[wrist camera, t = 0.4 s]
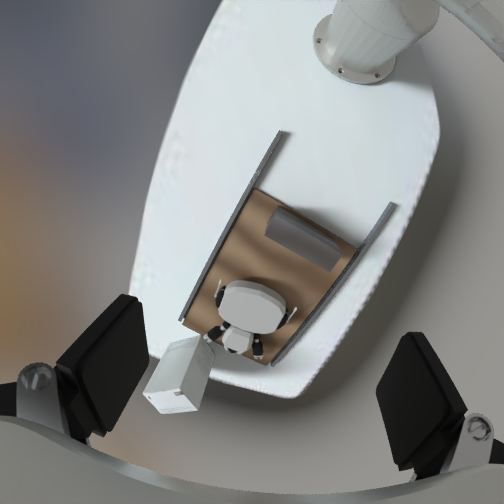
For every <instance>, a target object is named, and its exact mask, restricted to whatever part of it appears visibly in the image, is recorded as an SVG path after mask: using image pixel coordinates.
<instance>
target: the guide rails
mask: <svg viewBox="0 0 504 504" xmlns="http://www.w3.org/2000/svg"><path fill="white" fill-rule="evenodd" d="M282 134H283V132H282V131H280V130H279V132H278V133H277V135H276V137H275V138H274V140H273V142H272V144H271V145H270V147H269V149H268V151H267V152H266V154H265V156H264V158H263V159H262V161H261V163H260V165H259V166H258V168H257V170H256V172H255V174H254V175H253V177H252V179H251V181H250V183H249V184H248V186H247V188H246V190H245V192H244V193H243V195H242V197H241V199H240V201H239V203H238V204H237V206H236V208H235V210H234V212H233V214H232V216H231V217H230V219H229V221H228V223H227V225H226V227H225V229H224V231H223V232H222V234H221V236H220V238H219V240H218V242H217V244H216V246H215V248H214V250H213V252H212V253H211V255H210V257H209V259H208V261H207V263H206V265H205V267H204V269H203V271H202V273H201V275H200V277H199V279H198V281H197V283H196V285H195V287H194V289H193V291H192V293H191V295H190V297H189V299H188V301H187V303H186V305H185V307H184V309H183V311H182V313H181V315H180V317H179V319H178V321H180V322H181V321H182V319H183V317H184V315H185V313H186V311H187V309H188V307H189V305H190V303H191V301H192V299H193V297H194V295H195V293H196V291H197V289H198V287H199V285H200V284H201V282H202V280H203V278H204V276H205V274H206V272H207V270H208V268H209V266H210V264H211V262H212V260H213V259H214V257H215V255H216V253H217V251H218V249H219V247H220V245H221V243H222V242H223V240H224V238H225V236H226V234H227V232H228V230H229V229H230V227H231V225H232V223H233V221H234V219H235V217H236V216H237V214H238V212H239V210H240V208H241V206H242V205H243V203H244V201H245V199H246V197H247V196H248V194H249V192H250V190H251V188H252V187H253V185H254V183H255V181H256V179H257V178H258V176H259V174H260V172H261V171H262V169H263V167H264V165H265V164H266V162H267V160H268V158H269V156H270V155H271V153H272V151H273V150H274V148H275V146H276V144H277V143H278V141H279V139H280V137H281V136H282ZM394 207H395V205H394V204H393V203H391V202H390V203H389V204H388V206H387V207H386V209H385V211H384V212H383V214H382V215H381V217H380V218H379V220H378V221H377V223H376V224H375V226H374V228H373V229H372V231H371V232H370V234H369V235H368V237H367V238H366V239H365V241H364V242H363V244H362V245H361V247H360V248H359V250H358V251H357V253H356V254H355V255H354V257H353V258H352V260H351V261H350V262H349V264H348V265H347V267H346V268H345V269H344V271H343V272H342V274H341V275H340V276H339V278H338V279H337V280H336V282H335V283H334V284H333V286H332V287H331V288H330V290H329V291H328V292H327V294H326V295H325V296H324V298H323V299H322V300H321V301H320V303H319V304H318V305H317V307H316V308H315V309H314V310H313V312H312V313H311V314H310V315H309V317H308V318H307V319H306V320H305V322H304V323H303V324H302V325H301V327H300V328H299V329H298V330H297V331H296V333H295V334H294V335H293V336H292V338H291V339H290V340H289V341H288V342H287V343H286V345H285V346H284V347H283V348H282V349H281V350H280V352H279V353H278V354H277V355H276V356H275V357H274V359H273V360H272V361H271V366H272V367H274V365H275V364H276V363H277V362H278V361H279V360H280V359H281V358H282V357H283V355H284V354H285V353H286V352H287V351H288V350H289V349H290V347H291V346H292V345H293V344H294V343H295V342H296V340H297V339H298V338H299V337H300V336H301V335H302V333H303V332H304V331H305V330H306V329H307V327H308V326H309V325H310V324H311V323H312V321H313V320H314V319H315V318H316V316H317V315H318V314H319V313H320V311H321V310H322V309H323V308H324V306H325V305H326V304H327V303H328V301H329V300H330V299H331V298H332V296H333V295H334V294H335V292H336V291H337V290H338V288H339V287H340V286H341V284H342V283H343V282H344V280H345V279H346V278H347V276H348V275H349V274H350V272H351V271H352V270H353V268H354V267H355V265H356V264H357V263H358V261H359V260H360V258H361V257H362V256H363V254H364V253H365V251H366V250H367V248H368V247H369V246H370V244H371V243H372V241H373V240H374V238H375V237H376V235H377V234H378V232H379V231H380V229H381V228H382V226H383V225H384V223H385V222H386V220H387V218H388V217H389V215H390V214H391V212H392V211H393V209H394Z"/></svg>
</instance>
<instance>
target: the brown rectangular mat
mask: <svg viewBox="0 0 504 504" xmlns="http://www.w3.org/2000/svg"><path fill="white" fill-rule="evenodd" d="M356 251H357V249H356V248H355V247H353V246H351V245H350V244H348V243H347V242H345V241H344V240H342V239H340V238H339V237H337V236H336V235H334V234H332V233H331V232H329V231H327V230H326V229H324V228H323V227H321V226H319V225H318V224H316V223H314V222H313V221H311V220H309V219H308V218H306V217H304V216H303V215H301V214H299V213H297V212H296V211H294V210H292V209H291V208H289V207H287V206H285V205H284V204H282V203H280V202H278V201H277V200H275V199H273V198H271V197H270V196H268V195H266V194H264V193H263V192H261V191H259V190H257V189H254V190H253V192H252V194H251V196H250V197H249V199H248V201H247V203H246V205H245V206H244V208H243V210H242V212H241V214H240V216H239V217H238V219H237V221H236V223H235V225H234V227H233V228H232V230H231V232H230V234H229V236H228V238H227V239H226V241H225V243H224V245H223V247H222V249H221V251H220V252H219V254H218V256H217V258H216V260H215V262H214V264H213V266H212V268H211V269H210V271H209V273H208V275H207V277H206V279H205V281H204V283H203V285H202V287H201V289H200V290H199V292H198V294H197V296H196V298H195V300H194V302H193V304H192V306H191V308H190V310H189V312H188V314H187V316H186V318H185V320H184V322H183V324H182V325H184V326H186V327H187V328H189V329H191V330H193V331H195V332H197V333H199V334H201V335H203V336H204V335H205V334H208V331H209V330H211V329H212V328H213V327H215V326H222V325H223V322H224V321H225V320H224V319H223V318H222V317H221V316H220V315H219V310H218V308H217V307H216V302H215V299H216V297H214V295H215V293H216V291H217V288H218V285H219V281H220V279H222V281H221V284H220V286H219V289H218V291H219V290H220V289H221V288H222V287H223V286H227V285H228V284H229V283H230V282H231V281H236V280H243V281H250V282H254V283H259V284H262V285H264V286H266V287H268V288H270V289H272V290H274V291H275V292H277V293H278V294H280V295H281V296H282V297H283V299H284V300H285V302H286V308H287V309H288V317H289V316H290V315H291V313H292V312H293V311H294V309H295V307H297V310H296V312H294V314H293V315H292V316H291V318H290V319H289V322H288V323H285V325H284V326H282V327H281V328H280V329H276V330H275V331H274V332H272V333H269V334H260V336H261V337H260V339H259V340H260V341H261V342H262V344H263V355H264V356H263V358H262V359H260V357H258V359H255V358H254V356H253V350H252V345H251V348H250V349H249V350H248V351H244V352H243V353H242V354H241V355H243V356H246V357H248V358H250V359H252V360H254V361H257V362H259V363H261V364H263V365H266V366H267V364H268V363H269V362H270V361H271V360H272V359H273V358H274V356H275V355H276V354H277V353H278V352H279V351H280V349H281V348H282V347H283V346H284V345H285V344H286V342H287V341H288V340H289V339H290V338H291V336H292V335H293V334H294V333H295V332H296V330H297V329H298V328H299V327H300V326H301V324H302V323H303V322H304V321H305V319H306V318H307V317H308V316H309V314H310V313H311V312H312V311H313V309H314V308H315V307H316V305H317V304H318V303H319V302H320V300H321V299H322V298H323V296H324V295H325V294H326V292H327V291H328V290H329V288H330V287H331V286H332V284H333V283H334V282H335V280H336V279H337V278H338V276H339V275H340V274H341V272H342V271H343V270H344V268H345V267H346V265H347V264H348V263H349V261H350V260H351V258H352V257H353V255H354V254H355V253H356ZM224 331H225V330H223V333H222V335H221V336H220V337H219V338H218V339H216V340H215V341H214V342H216V343H218V344H220V345H223V346H224V344H223V342H222V337H223V334H224ZM254 341H255V340H254V339H253V342H252V344H253V343H254Z"/></svg>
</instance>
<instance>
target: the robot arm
mask: <svg viewBox="0 0 504 504" xmlns="http://www.w3.org/2000/svg"><path fill="white" fill-rule="evenodd" d="M439 5H440V6H441V7H442V8H444V9H445V10H446V11H448V12H449V13H452V15H454V16H455V17H456V18H457V19H459V20H460V21H461V22H462V23H463V24H464V25H466V26H467V27H468V28H469V29H470V30H471V31H473V32H474V33H475V34H476V35H477V36H478V37H479V38H480V39H481V40H482V41H483V42H484V43H485V44H486V45H487V46H488V47H489V48H490V49H491V50H493V52H494V53H495V54H496V55H497V56H498V57H499V58H500V59H501V60H502V61H503V62H504V0H337V3H336V6H335V8H334V11H333V14H330V15H328V16H326V17H325V18H323V19H322V20H321V21H320V22H319V23H318V24H317V26H316V28H315V31H314V35H313V45H314V49H315V52H316V55H317V56H318V58H319V60H320V61H321V62H322V64H323V65H324V66H325V67H326V68H327V69H328V70H329V71H331V72H332V73H333V74H335V75H336V76H338V77H340V78H342V79H344V80H346V81H349V82H353V83H358V84H371V83H375V82H378V81H380V80H382V79H384V78H385V77H387V76H388V75H389V74H390V73H391V72H392V70H393V68H394V66H395V63H396V56H397V55H398V54H399V53H401V52H402V51H403V50H405V49H406V48H407V47H409V46H410V45H412V44H413V43H414V42H416V41H417V40H419V39H420V38H421V37H423V36H424V35H426V34H427V33H428V32H430V31H431V30H432V29H433V28H434V26H435V25H436V23H437V21H438V17H439V11H440V7H439ZM317 42H320V43H317ZM338 71H341V73H339V72H338ZM375 75H376V76H377V78H376V77H375ZM56 364H57V365H56V366H55V367H54V368H52V366H50V365H48V364H47V363H43V362H36V363H32V364H29V365H27V366H25V367H24V368H23V369H22V370H21V371H20V373H19V375H18V378H17V382H12V383H6V384H0V504H504V443H502V442H500V441H498V440H496V439H494V438H493V437H494V428H493V425H492V423H491V422H490V420H489V419H488V418H487V417H485V416H484V415H482V414H479V413H473V414H470V415H468V416H467V417H466V418H465V417H464V414H465V413H466V411H467V410H468V409H467V407H466V406H465V403H464V402H463V400H462V398H461V396H460V394H459V392H458V390H457V389H456V387H455V385H454V383H453V381H452V380H451V378H450V376H449V375H448V373H447V371H446V369H445V368H444V366H443V364H442V363H441V361H440V359H439V358H438V356H437V354H436V353H435V351H434V350H433V348H432V346H431V345H430V343H429V342H428V340H427V338H426V337H425V335H424V334H423V333H422V332H408V333H406V334H405V335H404V336H402V338H401V339H400V342H399V344H398V346H397V348H396V350H395V352H394V354H393V357H392V358H391V361H390V362H389V365H388V366H387V368H386V370H385V372H384V374H383V376H382V378H381V380H380V382H379V384H378V385H377V388H376V397H377V400H378V403H379V407H380V410H381V413H382V417H383V421H384V424H385V428H386V432H387V436H388V440H389V443H390V447H391V452H392V455H393V460H394V463H395V464H397V465H398V468H399V471H403V470H408V469H412V468H414V474H413V476H412V477H411V480H410V481H409V482H408V483H404V484H399V485H394V486H389V487H383V488H377V489H370V490H364V491H355V492H345V493H331V494H274V493H260V492H250V491H242V490H234V489H227V488H221V487H215V486H209V485H205V484H200V483H195V482H191V481H187V480H182V479H179V478H175V477H171V476H167V475H163V474H160V473H157V472H154V471H151V470H148V469H145V468H141V467H139V466H136V465H133V464H130V463H128V462H125V461H123V460H120V459H117V458H115V457H112V456H110V455H107V454H105V453H103V452H100V451H98V450H96V449H94V448H91V445H90V441H89V436H90V435H91V433H92V432H93V433H95V434H97V435H99V436H102V437H104V436H105V435H106V433H107V431H108V432H110V431H112V429H113V428H114V426H115V424H116V422H117V421H118V419H119V417H120V415H121V413H122V411H123V410H124V408H125V406H126V404H127V402H128V401H129V399H130V397H131V395H132V393H133V391H134V390H135V388H136V386H137V385H138V383H139V381H140V379H141V377H142V376H143V374H144V372H145V370H146V369H147V367H148V364H149V353H148V346H147V339H146V332H145V324H144V316H143V307H142V303H141V302H139V301H138V298H137V297H134V296H130V295H125V294H121V295H120V296H119V297H118V298H117V299H116V300H115V301H114V302H113V303H112V304H111V305H110V306H109V307H108V308H107V309H106V310H105V311H104V312H103V313H102V314H101V315H100V316H99V317H98V318H97V319H96V320H95V321H94V322H93V323H92V324H91V325H90V326H89V327H88V328H87V329H86V330H85V331H84V332H83V333H82V334H81V335H80V337H79V338H78V339H77V340H76V341H75V342H74V343H73V344H72V345H71V346H70V347H69V348H68V349H67V351H66V352H65V353H64V354H63V355H62V356H61V357H60V358H59V359H58V361H57V362H56Z"/></svg>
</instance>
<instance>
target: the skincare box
mask: <svg viewBox="0 0 504 504" xmlns="http://www.w3.org/2000/svg"><path fill="white" fill-rule="evenodd" d="M214 358H215V355H214V353H213V352H212V350H211V349H210V347H209V346H208V344H207V342H206V341H205V340H204V338H203V336H202V335H199V336H195V337H192V338H188V339H185V340H181V341H177V342H174V343H170V344H169V346H168V347H167V349H166V351H165V353H164V355H163V357H162V358H161V360H160V362H159V364H158V366H157V368H156V369H155V371H154V373H153V375H152V377H151V379H150V381H149V382H148V384H147V386H146V388H145V390H144V392H143V394H144V396H145V397H146V398H147V399H148V400H149V401H150V402H151V403H152V404H153V405H154V406H155V408H156V409H157V410H158V411H159V412H160V413H161V414H168V413H178V412H188V411H197V410H198V409H199V406H200V402H201V399H202V396H203V393H204V389H205V386H206V383H207V380H208V377H209V374H210V371H211V368H212V365H213V362H214Z"/></svg>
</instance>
